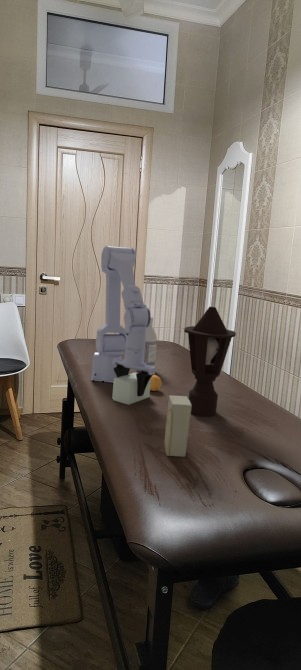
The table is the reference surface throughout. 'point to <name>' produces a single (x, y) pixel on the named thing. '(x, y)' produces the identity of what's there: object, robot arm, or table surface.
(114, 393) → the mint green block
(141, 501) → the table surface
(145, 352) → the bath foam
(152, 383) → the ball
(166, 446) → the skincare box
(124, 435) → the table surface
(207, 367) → the lantern
